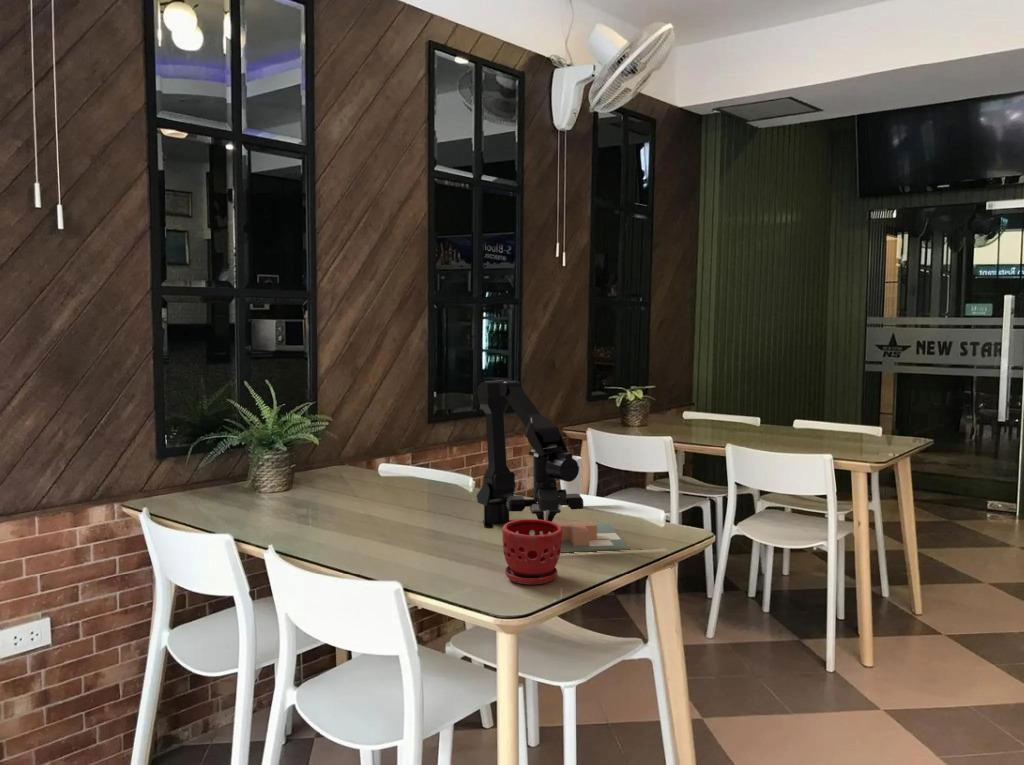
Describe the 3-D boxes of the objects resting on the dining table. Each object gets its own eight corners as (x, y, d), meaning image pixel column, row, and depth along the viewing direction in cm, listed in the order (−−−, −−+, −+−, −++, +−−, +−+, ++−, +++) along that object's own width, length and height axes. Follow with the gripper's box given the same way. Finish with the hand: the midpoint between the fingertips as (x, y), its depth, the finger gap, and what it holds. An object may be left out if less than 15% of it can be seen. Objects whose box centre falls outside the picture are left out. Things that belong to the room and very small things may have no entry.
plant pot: (493, 585, 184) (493, 530, 182) (515, 567, 196) (515, 516, 195) (551, 591, 179) (551, 536, 178) (569, 573, 191) (569, 521, 190)
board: (537, 554, 205) (537, 551, 205) (524, 528, 229) (524, 525, 229) (630, 550, 208) (630, 547, 207) (608, 525, 231) (608, 522, 231)
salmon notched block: (561, 546, 209) (561, 532, 209) (555, 536, 218) (555, 523, 218) (601, 544, 210) (601, 530, 210) (593, 534, 219) (593, 521, 219)
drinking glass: (580, 510, 248) (580, 460, 246) (557, 509, 249) (557, 459, 248) (583, 505, 254) (583, 455, 253) (561, 504, 256) (561, 455, 254)
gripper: (511, 482, 204) (511, 546, 205) (587, 480, 206) (587, 543, 207) (506, 473, 215) (507, 534, 216) (579, 471, 217) (579, 531, 218)
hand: (545, 535), depth 214 cm, fingers closed
